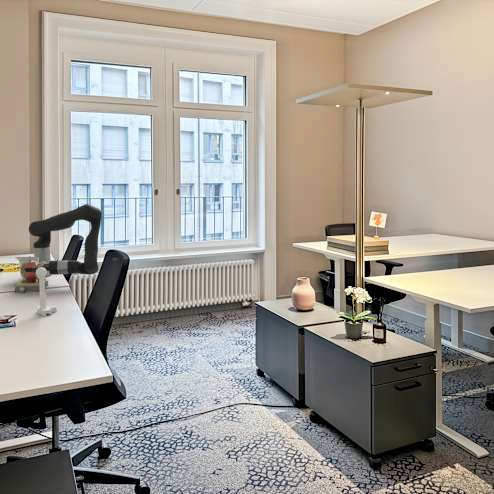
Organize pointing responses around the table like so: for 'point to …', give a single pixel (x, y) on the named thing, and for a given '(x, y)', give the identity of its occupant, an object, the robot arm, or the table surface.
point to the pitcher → (24, 260)
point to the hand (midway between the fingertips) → (27, 268)
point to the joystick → (43, 294)
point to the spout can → (31, 276)
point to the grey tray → (29, 286)
